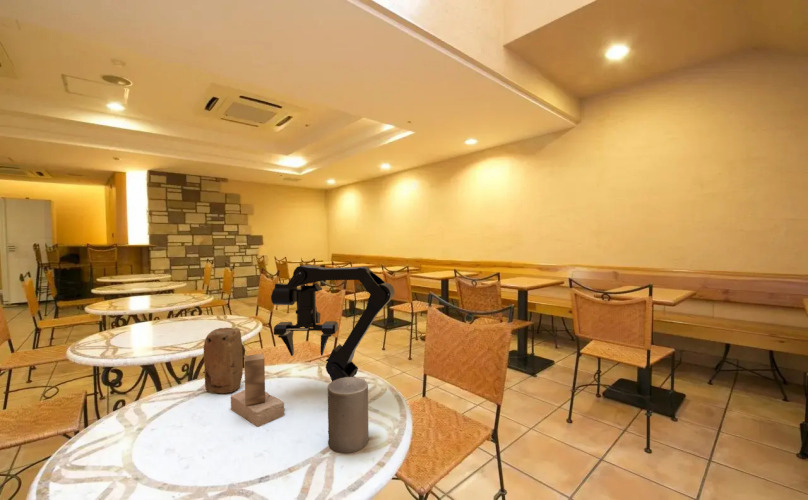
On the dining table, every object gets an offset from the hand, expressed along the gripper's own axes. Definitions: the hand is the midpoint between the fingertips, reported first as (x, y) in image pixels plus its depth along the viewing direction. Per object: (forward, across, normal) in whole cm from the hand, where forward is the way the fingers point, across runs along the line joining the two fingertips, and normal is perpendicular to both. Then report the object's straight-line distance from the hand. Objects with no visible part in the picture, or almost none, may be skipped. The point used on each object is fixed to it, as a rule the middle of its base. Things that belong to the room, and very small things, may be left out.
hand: (307, 355), depth 105 cm
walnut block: (+9, +12, +10) cm, 18 cm away
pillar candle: (+13, -17, +24) cm, 32 cm away
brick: (+14, +12, +9) cm, 20 cm away
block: (+13, +30, -6) cm, 33 cm away
